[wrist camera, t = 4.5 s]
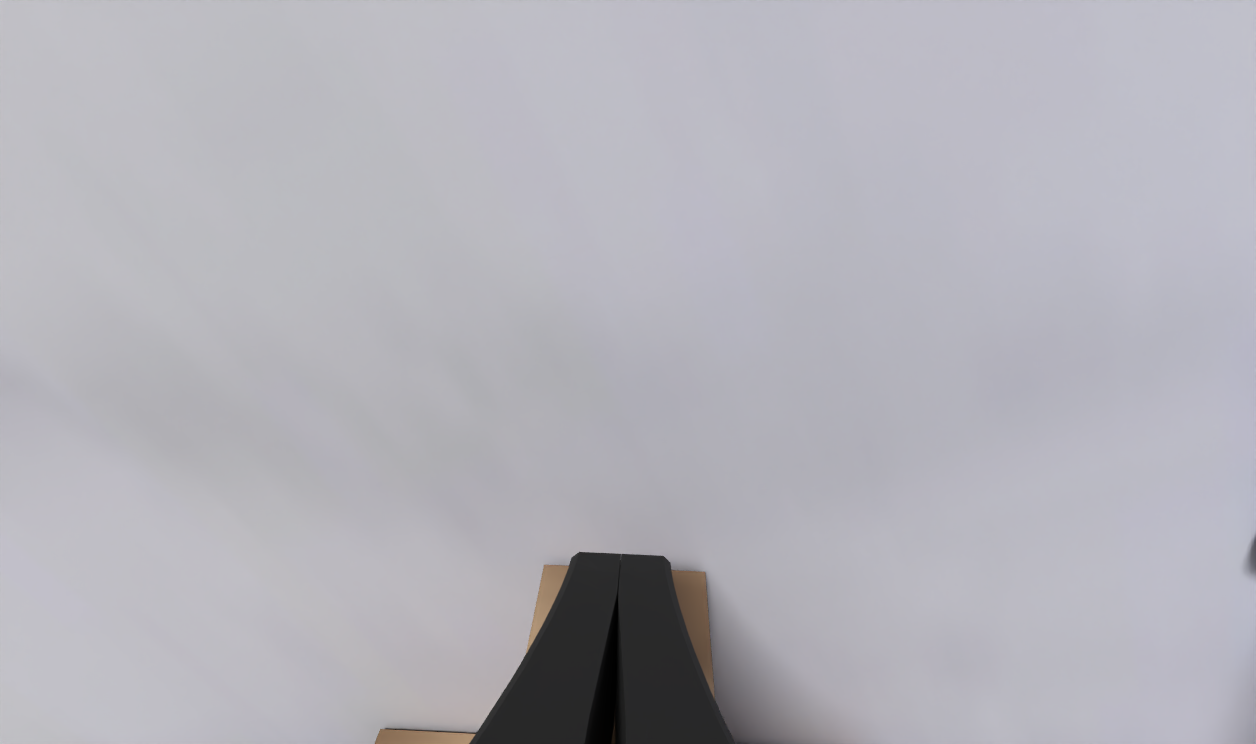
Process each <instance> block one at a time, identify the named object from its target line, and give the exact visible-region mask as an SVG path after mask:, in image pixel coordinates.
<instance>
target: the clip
mask: <svg viewBox="0 0 1256 744" xmlns="http://www.w3.org/2000/svg"><path fill="white" fill-rule="evenodd" d="M568 568H569V566H561V565H544V568H543V573H542V578H541V583H540V588H539V593H538V598H537V602H536V607H535V612H534V617H533V622H532V627H531V632H530V637H529V642H528V647H527V651H526V653H527V652H528V650H529V648H530V646H531V645H532V643H533V641H534V639H535V637H536V636H537V634H538V632H539V630H540V629H541V627H542V625H543V623H544V621H545V619H546V617H547V615H548V613H549V611H550V609H551V607H552V605H553V603H554V601H555V599H556V596H557V594H558V592H559V590H560V588H561V585H562V583H563V580H564V578H565V576H566V573H567V570H568ZM671 572H672V577H673V582H674V587H675V591H676V595H677V599H678V602H679V606H680V609H681V612H682V615H683V619H684V622H685V625H686V628H687V631H688V634H689V637H690V639H691V642H692V645H693V648H694V650H695V653H696V655H697V658H698V660H699V663H700V665H701V668H702V670H703V673H704V675H705V678H706V680H707V683H708V685H709V688H710V690H711V692H712V695H713V697H714V699H715V694H714V681H713V668H712V655H711V642H710V629H709V616H708V603H707V590H706V577H705V572H696V571H674V570H671ZM474 736H475V734H467V733H447V732H428V731H408V730H388V729H380V731H379V734H378V736H377V739H376V742H375V744H469V743H470V742H471V740H472V739H473V737H474ZM611 744H615V717H614V727H613V734H612V741H611Z"/></svg>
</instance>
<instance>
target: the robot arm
mask: <svg viewBox="0 0 1256 744" xmlns="http://www.w3.org/2000/svg"><path fill="white" fill-rule="evenodd" d="M614 717H615V744H735V742H734V740H733V738H732V736H731V734H730V732H729V730H728V728H727V726H726V723H725V721H724V719H723V717H722V715H721V713H720V711H719V708H718V706H717V704H716V702H715V699H714V697H713V695H712V692H711V690H710V688H709V685H708V683H707V680H706V678H705V675H704V673H703V670H702V668H701V665H700V663H699V660H698V658H697V655H696V653H695V650H694V648H693V645H692V642H691V639H690V637H689V634H688V631H687V628H686V625H685V622H684V619H683V615H682V612H681V609H680V606H679V602H678V599H677V595H676V591H675V587H674V582H673V577H672V572H671V564H670V562H669V561H668V560H667V559H666V558H665V557H664V556H653V555H631V554H610V553H589V552H579V553H577V554H576V555H575V556H573V557H572V558H571V561H570V565H569V568H568V570H567V573H566V576H565V578H564V580H563V583H562V585H561V588H560V590H559V592H558V594H557V596H556V599H555V601H554V603H553V605H552V607H551V609H550V611H549V613H548V615H547V617H546V619H545V621H544V623H543V625H542V627H541V629H540V630H539V632H538V634H537V636H536V637H535V639H534V641H533V643H532V645H531V646H530V648H529V650H528V652H527V653H526V655H525V657H524V659H523V661H522V662H521V664H520V666H519V668H518V669H517V671H516V673H515V674H514V676H513V678H512V679H511V681H510V682H509V684H508V685H507V687H506V689H505V690H504V692H503V693H502V695H501V696H500V698H499V699H498V701H497V703H496V704H495V706H494V707H493V709H492V710H491V712H490V713H489V715H488V717H487V718H486V720H485V721H484V723H483V724H482V726H481V727H480V729H479V730H478V732H477V733H476V734H475V736H474V737H473V739H472V740H471V742H470V743H469V744H611V741H612V734H613V727H614Z"/></svg>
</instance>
